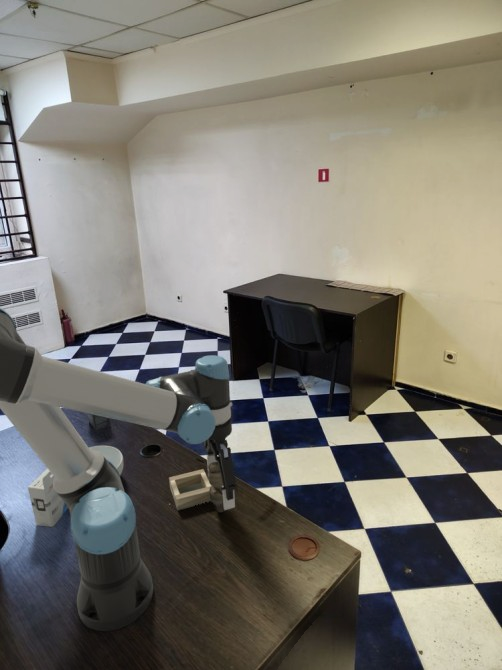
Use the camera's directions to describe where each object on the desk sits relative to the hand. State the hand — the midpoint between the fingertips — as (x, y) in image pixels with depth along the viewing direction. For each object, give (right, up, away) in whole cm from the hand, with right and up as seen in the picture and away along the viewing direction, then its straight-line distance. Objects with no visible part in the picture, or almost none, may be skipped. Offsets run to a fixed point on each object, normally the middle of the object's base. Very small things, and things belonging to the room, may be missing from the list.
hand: (221, 491), depth 115 cm
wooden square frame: (-9, -4, +9) cm, 13 cm away
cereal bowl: (-37, -3, +15) cm, 41 cm away
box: (-47, +8, +47) cm, 67 cm away
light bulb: (0, -6, +2) cm, 7 cm away
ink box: (-44, -7, +3) cm, 45 cm away
